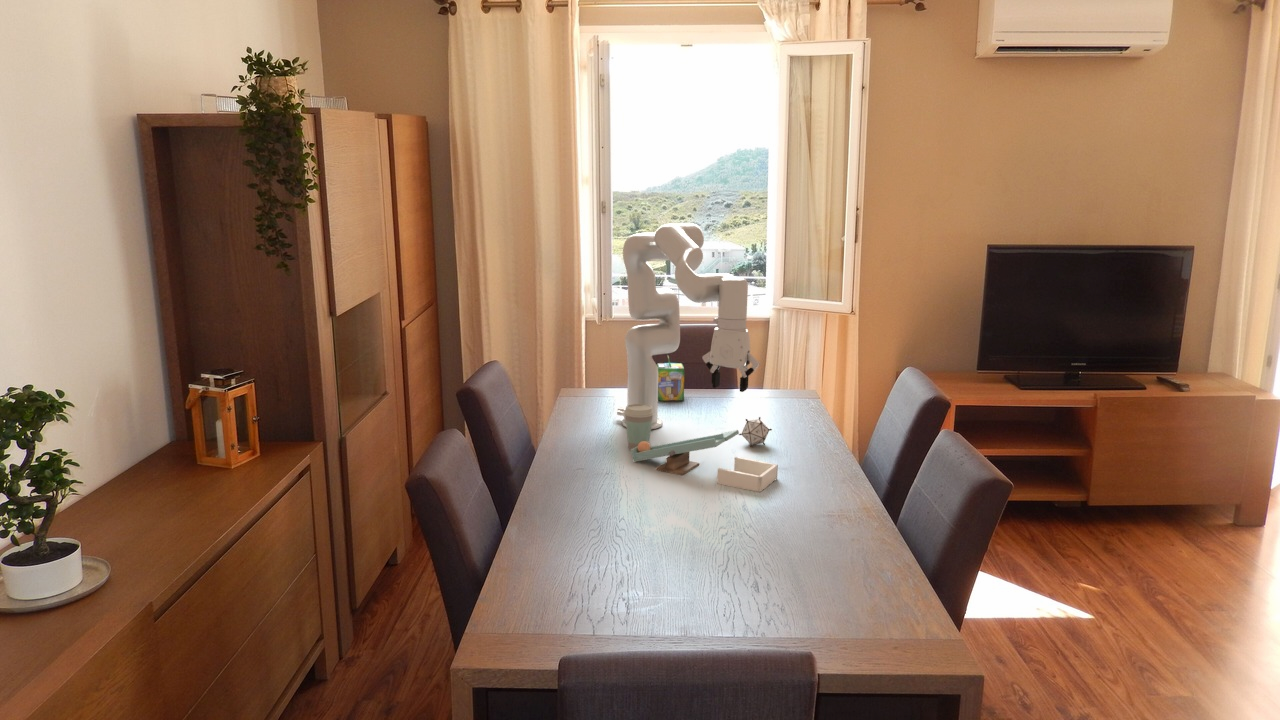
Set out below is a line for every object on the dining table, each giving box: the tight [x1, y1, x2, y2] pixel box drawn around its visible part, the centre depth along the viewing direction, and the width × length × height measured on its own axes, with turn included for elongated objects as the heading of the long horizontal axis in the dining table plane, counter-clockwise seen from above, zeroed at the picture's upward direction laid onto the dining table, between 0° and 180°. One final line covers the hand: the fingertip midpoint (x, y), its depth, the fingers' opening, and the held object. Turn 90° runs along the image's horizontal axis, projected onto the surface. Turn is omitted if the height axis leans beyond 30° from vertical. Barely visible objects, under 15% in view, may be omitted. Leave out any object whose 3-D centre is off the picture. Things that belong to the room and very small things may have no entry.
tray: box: [716, 456, 779, 493], centre depth 247 cm, size 12×12×4 cm
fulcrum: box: [655, 452, 700, 476], centre depth 257 cm, size 8×10×4 cm
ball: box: [638, 441, 652, 452], centre depth 262 cm, size 4×4×4 cm
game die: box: [738, 416, 773, 448], centre depth 277 cm, size 9×8×10 cm
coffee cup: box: [624, 404, 654, 450], centre depth 273 cm, size 8×8×12 cm
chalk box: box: [656, 354, 685, 402], centre depth 327 cm, size 9×9×15 cm
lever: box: [630, 429, 740, 462], centre depth 259 cm, size 26×16×4 cm, turn 60°
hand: (729, 388), depth 255 cm, fingers open, 7 cm apart
